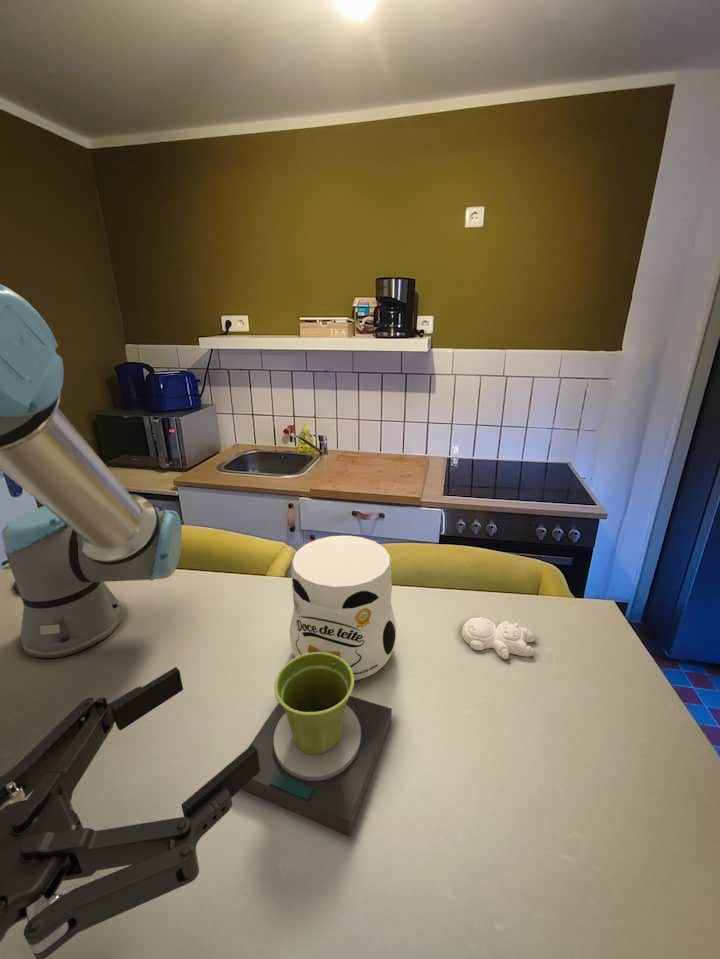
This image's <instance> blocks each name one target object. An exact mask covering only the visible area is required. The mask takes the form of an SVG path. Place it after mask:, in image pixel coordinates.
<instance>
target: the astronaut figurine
mask: <svg viewBox="0 0 720 959" xmlns="http://www.w3.org/2000/svg"><path fill="white" fill-rule="evenodd" d="M461 635H462V638H463V639H464V641H465V642H466V643H467V644H468V645H469V646H470V648H471V649H472V650H475V651H483V650H484V649H485V650H487V649H493V650H494V651H495V652H496V654H497V655H498V657H500V658H502V659H503V660H508V659H509V657H510V654H512V655H517V656H520V657H527V658H529V657H531V656H532V657H533V655H534V653H535V650H534V649H533V648H532V646H531V645H528V643H533V642H534V641H535V640H536V634H535V633H533V631H531V630H529V629H528V628H526V627H522V626H519V622H515V623H514V624H513V623H511V622H510V621H508V620H504V621H501V622H500V623H499V624H498V625H497V626H496V624H495V623H494V621H492V620H491V619H488V618H486V617H484V616H478V617H472V618H470V619H468V620H466V621H465V623H464V624H463V626H462V630H461Z"/></svg>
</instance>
